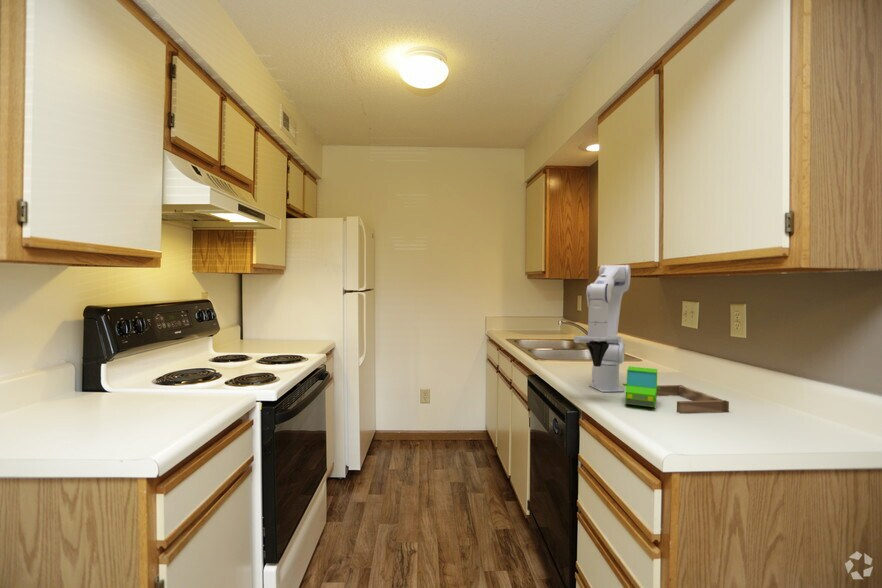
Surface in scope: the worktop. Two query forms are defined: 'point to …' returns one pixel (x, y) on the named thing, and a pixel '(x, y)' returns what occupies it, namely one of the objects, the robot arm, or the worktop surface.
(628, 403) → the toy car
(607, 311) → the robot arm
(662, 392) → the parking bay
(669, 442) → the worktop surface
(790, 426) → the worktop surface
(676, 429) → the worktop surface
